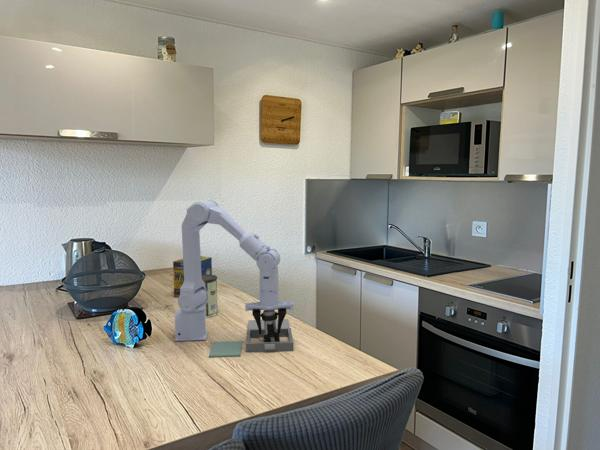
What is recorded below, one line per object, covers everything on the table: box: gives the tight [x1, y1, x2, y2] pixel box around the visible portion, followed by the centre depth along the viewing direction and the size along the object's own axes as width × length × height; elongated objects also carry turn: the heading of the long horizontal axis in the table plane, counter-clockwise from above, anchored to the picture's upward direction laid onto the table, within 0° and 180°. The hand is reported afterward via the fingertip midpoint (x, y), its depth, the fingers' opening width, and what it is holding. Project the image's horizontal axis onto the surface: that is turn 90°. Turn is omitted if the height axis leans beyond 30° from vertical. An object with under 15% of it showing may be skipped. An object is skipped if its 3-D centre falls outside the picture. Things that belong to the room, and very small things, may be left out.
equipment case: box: [245, 318, 294, 353], centre depth 147 cm, size 14×27×2 cm, turn 5°
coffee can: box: [201, 274, 219, 319], centre depth 170 cm, size 10×10×14 cm
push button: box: [258, 310, 281, 342], centre depth 141 cm, size 7×5×10 cm
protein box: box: [172, 255, 213, 298], centre depth 199 cm, size 10×15×16 cm
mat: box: [208, 340, 243, 358], centre depth 136 cm, size 9×11×1 cm
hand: (269, 332), depth 141 cm, fingers closed on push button, 5 cm apart
